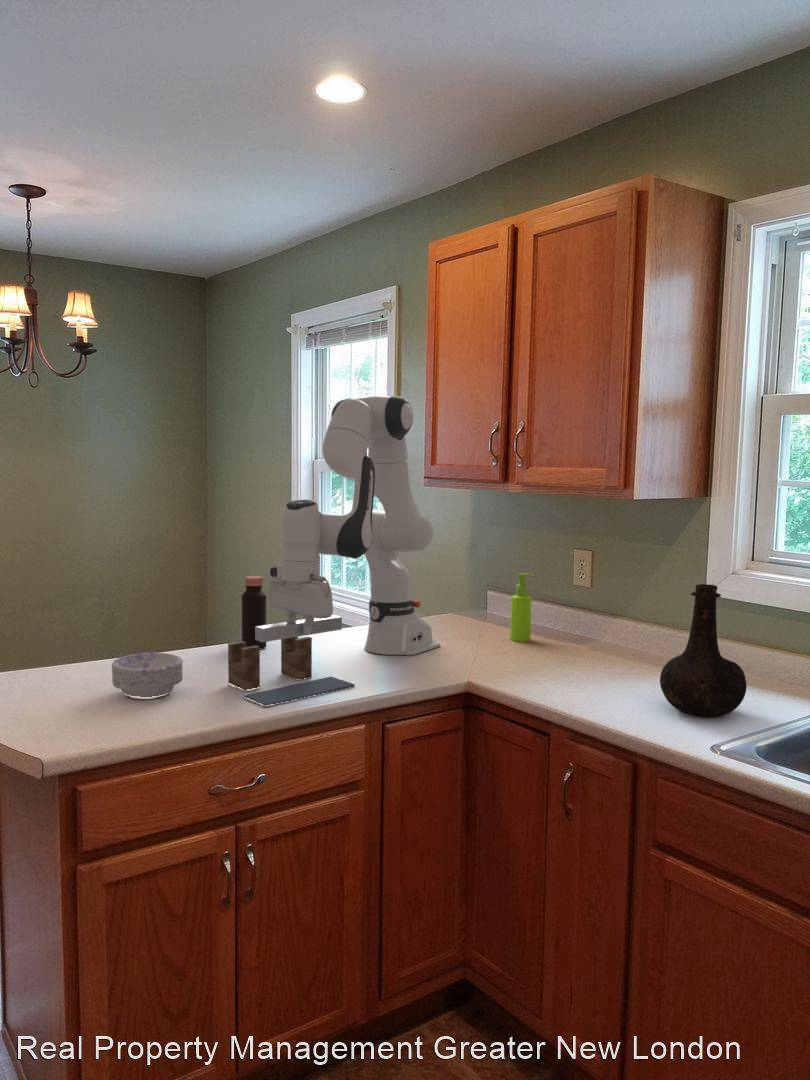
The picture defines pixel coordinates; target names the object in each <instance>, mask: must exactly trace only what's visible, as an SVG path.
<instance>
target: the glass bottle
mask: <svg viewBox="0 0 810 1080" xmlns="http://www.w3.org/2000/svg"><path fill="white" fill-rule="evenodd" d="M694 587H695V591H693V592H691V593H690V596H692V597H694V605H693V611H692V612H693V613H692V620H691V625H690V631H689V637H688V640H687V644H686V646H685V649H684V650H683V652H682V653H681V654H679V655H677V656H675V657H673V658H671V659H669V661H667V662H666V663H665V665H663V667H662V669H661V672H660V677H659V685H660V689H661V692H662V693H663V696H664V698H665V699H666V701H667V702H668V703H669V704H670V705H671V706H672V707H673V708H675V709H676V710H677V711H678V712H679V711H680V713H682V714H686V715H689V716H691V717H699V718H706V719H707V718H708V719H709V718H710V719H711V718H720V717H725V716H726V715H729V714H730V713H733V712H734V711H735V710H736V709H737V708H738V707H739V706H740V705H741V704H742V703H743V700H744V699H745V696H746V693H747V679H746V675H745V671H744V670H743V669H742V667H741V666H740V665H739V664H737V663H736V662H734V661H732V660H729V659H727V658H724V657H723V656H722V654H721V652H720V649H719V643H718V633H717V631H718V630H717V629H718V628H717V598H721V597H722V595H721V594H720V593H718V592H717V590H718V588H719V587H718V585H715V584H705V583H703V584H696V585H694Z"/></svg>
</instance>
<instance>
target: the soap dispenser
mask: <svg viewBox="0 0 810 1080" xmlns="http://www.w3.org/2000/svg"><path fill="white" fill-rule="evenodd" d="M516 576H517V577H518V578H519V580H518V583H517V584H516V585H515V594H514V595H511V608H510V609H511V610H510V635H509V636H510V641H513V642H518V643H519V642H520V643H526V642H530V641H531V622H532V618H531V617H532V596H531V595H528V588H529V586H528V584H527V583H525V582H526V577H532V578H536V575H535V574H534V573H533V574H532V573H527V572H526V573H525V572H524V573H523V572H522V573H517V574H516Z"/></svg>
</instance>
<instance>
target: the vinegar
mask: <svg viewBox="0 0 810 1080" xmlns="http://www.w3.org/2000/svg"><path fill="white" fill-rule="evenodd" d="M263 579H264V577H263V576H260V575H259V576H258V575H251V576H250V575H248V576H245V577H244V585H245V588H246V589H245V591H244V592H243V593H242V594H241V641H244V642H246V647H250V646H259V647H260V648H263V649H265V648H266V647H267V642H260V641H257V640H255V627H256V626H262V625H267V594H266V593H265V592H264V591H263V584H264V583H263V582H264V581H263ZM264 647H265V648H264Z"/></svg>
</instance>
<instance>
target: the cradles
mask: <svg viewBox="0 0 810 1080" xmlns="http://www.w3.org/2000/svg"><path fill="white" fill-rule="evenodd" d="M312 640H313V637H311V636H302V637H293V638H286V639H280V641H281V642H280V643H281V644H280V650H281V651H280V653H281V655H280V661H281V662H280V667H281V668H280V672H281V673H282V674H284V675H287V676H289V677H288V678H290V677H292V678H291V679H293V678H295V679H294V680H296V679H298V680H297V681H300V680H299V679H303V680H305V679H304V678H308V679H310V678H309V677H312V675H313V674H312V673H313V670H312V669H313V666H312V665H313V664H312V663H313V662H312V661H313V659H312V656H313V651H312V649H313V647H312V646H313V645H312V643H313V641H312ZM227 648H228V649H227V656H228V657H227V659H228V661H227V663H228V664H227V665H228V666H227V669H228V670H227V671H228V672H227V674H228V675H227V676H228V681H227V683H231V684H233V685H235V686H237V687H240V688H242V689H244V690H247V689H252V688H257V687H260V688H261V685H260V683H261V681H260V680H261V679H260V678H261V675H260V674H261V665H260V663H261V661H260V660H261V659H260V658H261V657H260V655H261V654H260V653H261V652H260V651H261V649H260V647H259V646H250V647H246V642H244V641H242V640H241V641H237V642H230V643H228V644H227ZM281 673H280V674H281ZM284 675H283V676H284ZM287 676H286V677H287ZM312 678H313V677H312Z"/></svg>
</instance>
